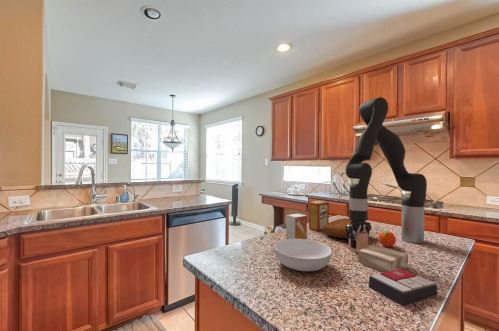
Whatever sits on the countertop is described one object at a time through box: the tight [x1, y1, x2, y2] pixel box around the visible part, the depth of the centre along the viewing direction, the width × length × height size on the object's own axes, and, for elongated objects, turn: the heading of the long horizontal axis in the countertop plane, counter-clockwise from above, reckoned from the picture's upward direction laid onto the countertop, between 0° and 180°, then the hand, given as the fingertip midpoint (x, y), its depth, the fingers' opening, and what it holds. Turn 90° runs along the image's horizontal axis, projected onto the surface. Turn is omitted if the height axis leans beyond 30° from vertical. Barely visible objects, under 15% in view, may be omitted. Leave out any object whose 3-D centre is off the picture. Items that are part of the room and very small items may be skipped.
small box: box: [285, 213, 308, 240], centre depth 116 cm, size 8×6×13 cm
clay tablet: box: [323, 217, 372, 239], centre depth 125 cm, size 22×17×8 cm
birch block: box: [357, 244, 409, 273], centre depth 90 cm, size 12×12×5 cm
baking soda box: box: [308, 200, 330, 233], centre depth 140 cm, size 10×6×16 cm
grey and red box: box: [368, 269, 438, 307], centre depth 71 cm, size 11×4×15 cm
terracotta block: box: [348, 231, 369, 254], centre depth 105 cm, size 6×6×8 cm
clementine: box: [378, 230, 397, 248], centre depth 110 cm, size 8×7×7 cm
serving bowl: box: [273, 238, 333, 272], centre depth 89 cm, size 21×21×7 cm
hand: (358, 246), depth 105 cm, fingers closed on terracotta block, 5 cm apart
